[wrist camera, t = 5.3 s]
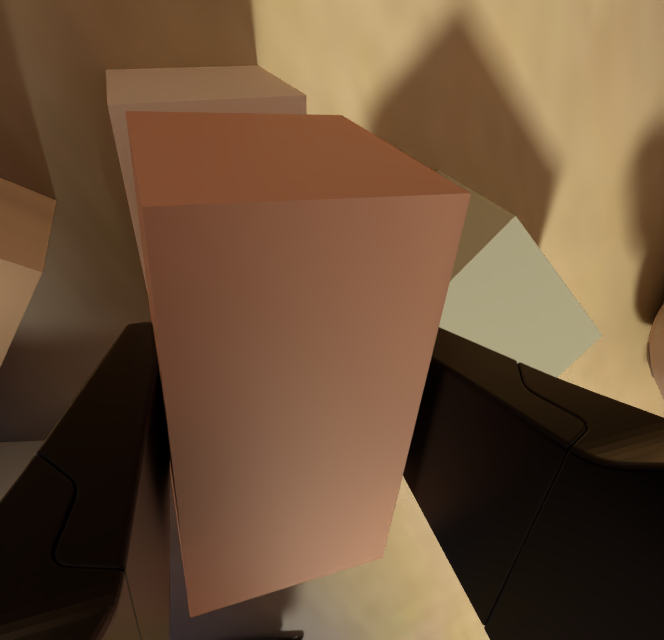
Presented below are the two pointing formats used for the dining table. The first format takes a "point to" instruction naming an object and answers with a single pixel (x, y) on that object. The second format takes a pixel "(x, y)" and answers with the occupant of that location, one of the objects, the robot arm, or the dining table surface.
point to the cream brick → (190, 104)
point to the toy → (657, 350)
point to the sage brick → (512, 293)
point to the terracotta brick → (287, 335)
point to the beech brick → (20, 253)
